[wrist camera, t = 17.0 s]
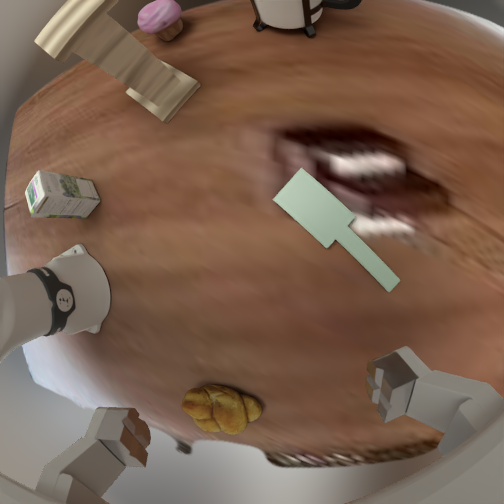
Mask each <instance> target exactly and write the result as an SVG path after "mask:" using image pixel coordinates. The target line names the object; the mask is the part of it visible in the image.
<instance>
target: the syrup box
mask: <svg viewBox="0 0 504 504" xmlns="http://www.w3.org/2000/svg"><path fill="white" fill-rule="evenodd" d="M25 194H26V198H27V202H28V206H29V209H30V213H31V217H38V218H84V219H85V218H87V216H88V215H89V214H90V213H91V212H92V211H93V209H94V208H95V207H96V206H97V205H98V203H99V202H100V201H101V200H100V198H99V196H98V193H97V191H96V189H95V187H94V184H93V182H92V180H90V179H85V178H80V177H74V176H69V175H64V174H59V173H53V172H47V171H41V170H39V171H38V172H37V173H36V175H35V176H34V177H33V179H32V180H31V182H30V183H29V185H28V187H27V189H26V192H25Z"/></svg>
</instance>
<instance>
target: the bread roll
mask: <svg viewBox="0 0 504 504" xmlns="http://www.w3.org/2000/svg"><path fill="white" fill-rule="evenodd" d="M181 407H182V409H183V410H184V411H185V412H186V413H187V414H189V415H190V416H192V417H193V420H194V422H195V423H196V424H197V425H198V426H199V427H200V428H201V429H203V430H205V431H207V432H218V431H221V430H222V431H224V432H225V433H228V434H231V435H235V434H239V433H241V432H242V431H243V430H244V429H245V428H246V426H247V423H249V422H252V421H254V420H256V419H257V418H258V417H260V415H261V413H262V407H261V405H260V403H259V402H258V401H257V400H256V399H254V398H253V397H251V396H248V395H243V394H238V392H237V391H235V390H233V389H231V388H228V387H225V386H220V385H206V386H203V387H201V388H193V389H190V390H189V391H188V392H187V393H186V395H185V397H184V399H183V401H182V405H181Z"/></svg>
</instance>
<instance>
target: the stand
mask: <svg viewBox="0 0 504 504" xmlns="http://www.w3.org/2000/svg"><path fill="white" fill-rule="evenodd" d="M118 1H119V0H68V1H67V2H66V3H65V4H64V5H63V6H62V8H60V10H59V11H58V12H57V13H56V14H55V15H54V16H53V18H52V19H51V20H50V21H49V22H48V24H47V25H46V26H45V27H44V29H43V30H42V31H41V33H40V34H39V35H38V37H37V38H36V40H35V43H37V44H38V45H39V46H40V47H41V48H43V49H44V50H45V51H46V52H47V53H48V54H50V55H51V56H52V57H53V58H54V59H56V60H58V61H60V62H62V63H64V62H65V61H66V59H67V58H68V57H69V55H70V54H71V53H72V52H74V53H76V54H77V55H79V56H81V57H82V58H84V59H86V60H87V61H89V62H91V63H92V64H94V65H96V66H97V67H99V68H100V69H102V70H104V71H105V72H107V73H108V74H110V75H112V76H113V77H115V78H116V79H118V80H119V81H121V82H122V83H124V84H125V85H127V86H128V87H130V88H129V89H128V90H127V92H126V93H127V94H128V95H130V96H131V97H132V98H133V99H135V100H136V101H137V102H139V103H140V104H141V105H143V106H144V107H145V108H146V109H148V110H149V111H150V112H152V113H153V114H154V115H155V116H157V117H158V118H159V119H160V120H162V121H163V122H165V123H166V124H167V123H168V122H169V121H170V120H171V118H172V117H173V116H174V115H175V114H176V113H177V111H178V110H179V109H180V108H181V107H182V106H183V104H184V103H185V102H186V101H187V100H188V99H189V98H190V97H191V96H192V94H193V93H194V92H195V91H196V90H197V89H198V88H199V87H200V86H201V85H200V83H199V82H198V81H196V80H194V79H193V78H191V77H189V76H188V75H186V74H184V73H183V72H181V71H179V70H177V69H176V68H174V67H172V66H170V65H168V64H167V63H165V62H163V61H161V60H159V59H158V58H156V57H155V56H154V55H153V54H152V53H151V52H150V51H149V50H148V49H147V48H146V47H145V46H143V45H142V44H141V43H140V42H139V41H138V40H137V39H136V38H134V37H133V36H132V35H131V34H130V33H129V32H127V31H126V30H125V29H124V28H123V27H122V26H121V25H119V24H118V23H117V22H116V21H115V20H113V19H112V18H111V17H110V16H108V15H107V14H106V12H108V11H109V10H110V9H111V8H112V7H113V6H114V5H115V4H116V3H117V2H118Z"/></svg>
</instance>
